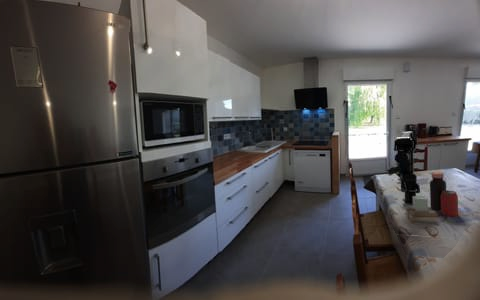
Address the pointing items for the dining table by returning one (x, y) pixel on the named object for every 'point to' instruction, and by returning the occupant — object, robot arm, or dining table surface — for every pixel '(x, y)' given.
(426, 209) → the sage block
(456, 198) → the beer can
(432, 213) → the slab top
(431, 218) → the slab bottom
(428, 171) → the dining table surface
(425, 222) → the mat
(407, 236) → the dining table surface
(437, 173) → the bottle
